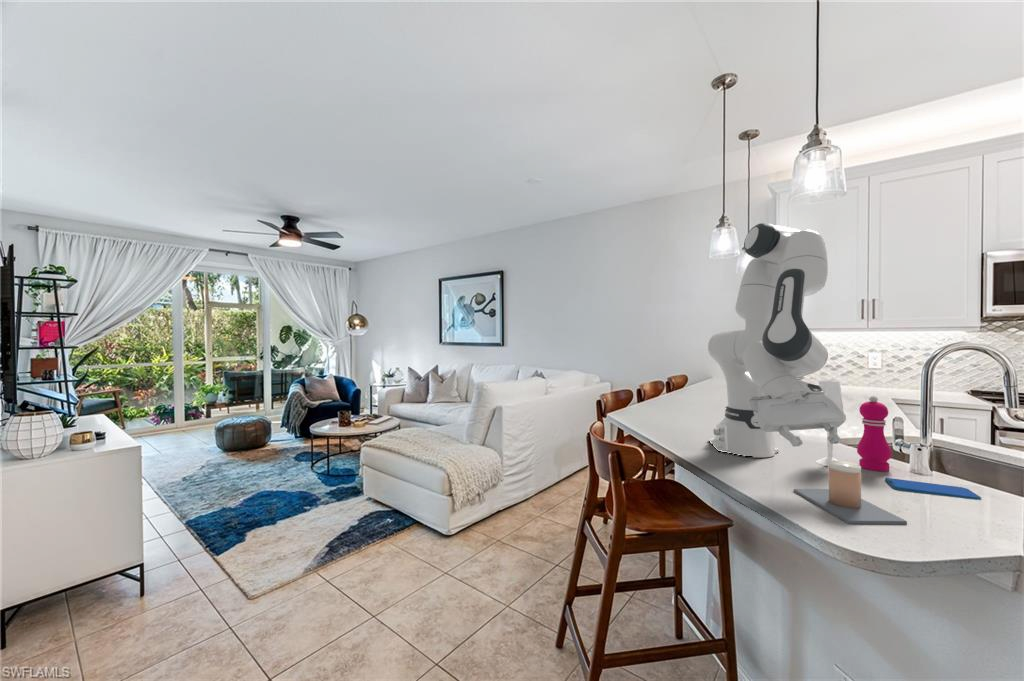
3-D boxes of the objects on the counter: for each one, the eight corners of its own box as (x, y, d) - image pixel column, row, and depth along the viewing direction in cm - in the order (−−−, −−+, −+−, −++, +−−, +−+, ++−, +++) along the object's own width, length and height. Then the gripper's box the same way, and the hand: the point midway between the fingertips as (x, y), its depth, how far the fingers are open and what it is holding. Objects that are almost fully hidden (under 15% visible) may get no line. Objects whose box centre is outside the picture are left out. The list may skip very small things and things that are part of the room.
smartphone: (983, 498, 91) (894, 486, 98) (983, 503, 91) (894, 490, 98) (965, 487, 97) (883, 477, 104) (965, 491, 97) (883, 481, 104)
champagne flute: (851, 465, 115) (850, 381, 115) (832, 468, 114) (831, 382, 114) (827, 459, 122) (827, 378, 122) (809, 461, 120) (808, 379, 120)
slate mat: (793, 491, 98) (793, 488, 98) (841, 491, 97) (841, 488, 97) (848, 523, 81) (848, 520, 81) (906, 524, 80) (906, 521, 80)
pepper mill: (877, 464, 117) (877, 394, 117) (899, 472, 110) (898, 398, 109) (850, 463, 117) (850, 394, 117) (870, 471, 110) (869, 398, 110)
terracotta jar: (822, 498, 92) (822, 460, 92) (847, 498, 91) (847, 460, 91) (841, 508, 86) (841, 468, 86) (868, 508, 86) (868, 468, 86)
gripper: (751, 390, 101) (781, 439, 91) (829, 385, 102) (866, 433, 93) (740, 404, 105) (768, 453, 96) (815, 400, 107) (849, 447, 97)
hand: (817, 443), depth 94 cm, fingers open, 8 cm apart
